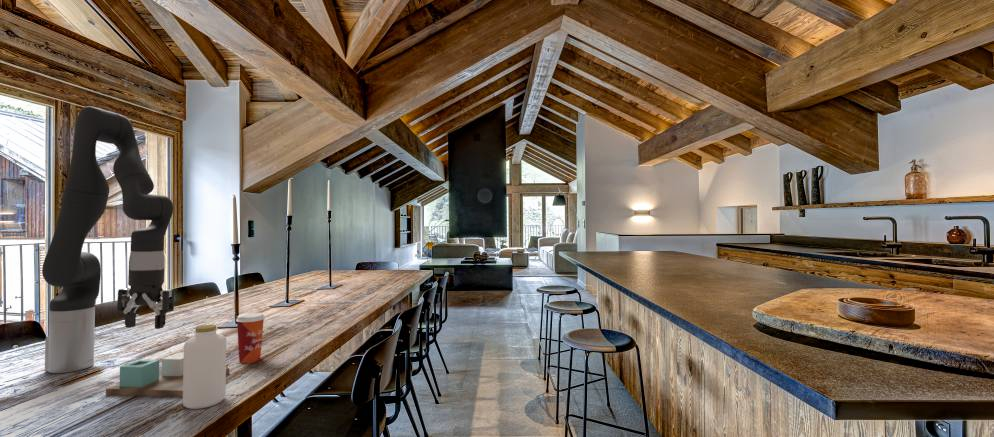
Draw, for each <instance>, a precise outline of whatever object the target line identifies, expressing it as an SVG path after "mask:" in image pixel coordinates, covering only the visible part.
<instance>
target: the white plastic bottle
mask: <svg viewBox="0 0 994 437" xmlns="http://www.w3.org/2000/svg"><path fill="white" fill-rule="evenodd" d="M217 331H218V328H217V325H216V324H203V325H197V326H195V330H194V334H195V335H194V336H192V337H190V338H188V339H187V340H186V341H185V342H184V343H183V344H184V345H183V353H184V362H183V397H182V405H183V406H184V407H185V408H186V409H192V410H198V409H199V410H200V409H205V408H206V409H207V408H209V407H213V406H216V405H217V404H219V403H221V402H222V401H223V400H224V399H225V398H226V391H227V390H226V388H227V384H226V382H227V380H226V379H227V375H226V368H227V337H226V336H225V335H223V334H221V333H217Z"/></svg>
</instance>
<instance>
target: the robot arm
mask: <svg viewBox="0 0 994 437" xmlns="http://www.w3.org/2000/svg"><path fill="white" fill-rule="evenodd" d="M97 142H101V143H105V144H111V145H114V146H115V147H116V148H117V149H118V151H119V153H118V154H117V155H118V156H117V157H116V159H115V161H114V163H113V165H112V169H113V170H112V171H113V174H114V177H115V179H116V181H117V184H118V185H119V187H120V189H121V195H122V212H123V213H124V215H125V216H126V217H127V218H129V219H131V220H135V221H151V222H150V223H149V225H148V226H147V227H144V228H139V229H134V230H133V231H132V232H131V235H130V252H129V253H130V254H129V258H128V279H127V280H128V281H127V285H128V286H129V287H126V288H120V289H118V290H117V304H116V310H117V312H122V313H123V314H124V325H125V328H127V329H130V328H134V327H135V326H136V325H137V324H136V322H137V321H136V320H137V312H136V311H137V309H139V307H141V306H147V307H148V306H149V308H150V309H152V311H154V313H155V315H154V329H155V330H159V329H160V330H161V329H163V328H164V327H165V325H166V314H168V313H170V312H174V310H175V309H174V308H175V290H174V289H166V290H164V289H163V284H165V272H166V271H165V268H166V267H165V265H166V264H165V263H166V259H165V237H166V233H167V230H168V227H169V224H170V221H171V218H172V216H173V214H174V204H173V202H172V200H171V198H169V197H168V196H166V195H163V194H161V195H160V194H151V193H152V192H153V191H154V189H155V183H154V181H153V179H152V177H151V175H150V174H149V172H148V170H147V168H146V167H145V165H144V163H143V160H142V156H141V153H140V149H139V144H138V140H137V137H136V134H135V131H134V127H133V124H132V122H131V121H130V120H129V118H128V117H127V116H125V115H123V114H120V113H117V112H114V111H109V110H107V109H103V108H99V107H95V106H91V105H88V106H84V107H82V108H81V109H80V110H79V112H78V113H77V117H76V119H75V125H74V132H73V143H72V149H71V150H72V151H71V157H70V158H71V159H70V164H69V168H68V173H67V178H66V181H65V185H64V189H63V193H62V197H61V203H60V209H59V214H58V217H57V220H56V226H55V229H54V233H53V236H52V238H51V242H50V243H49V247H48V249H47V252H46V255H45V257H44V260H43V264H42V268H41V269H42V270H41V273H42V277H43V279H44V281H45V282H46V284H48V285H50V286H51V287H52V286H53V287H56V288H57V287H58V288H61V287H62V290H61V291H60V292H59V294H58V295H56V296H55V297H54V298H52V299H51V300H50V302H49V307H48V308H49V310H48V311H49V316H48V317H49V318H48V319H49V320H48V321H49V322H48V323H49V324H48V325H49V326H48V336H46V337H45V339H44V340H45V342H44V344H45V345H44V371H45V372H48V373H49V374H65V373H71V372H77V371H81V370H85V369H88V368H90V367H92V366H94V362H95V321H96V320H95V319H96V318H95V317H96V300H97V298H98V296H99V294H100V289H101V288H100V287H101V286H100V285H101V274H102V267H101V262H100V260H99V258H98V257H97V256H96V255H95V254H93V253H91V252H87V251H83V250H82V249H83V246H84V243H85V240H86V237H87V236H88V234H89V233H90V232H91V230H92V229H94V227H95V225H96V224H97V223H98V222H99V221H100V219H101V217H102V216H103V215H104V214H105V211H106V207H107V205H108V204H107V203H108V200H109V195H110V185H109V182H108V180H107V177H106V176H105V174H104V172H103V170H102V169H101V167H100V164H99V162H98V159H97V154H96V153H97V150H96V148H97Z"/></svg>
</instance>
